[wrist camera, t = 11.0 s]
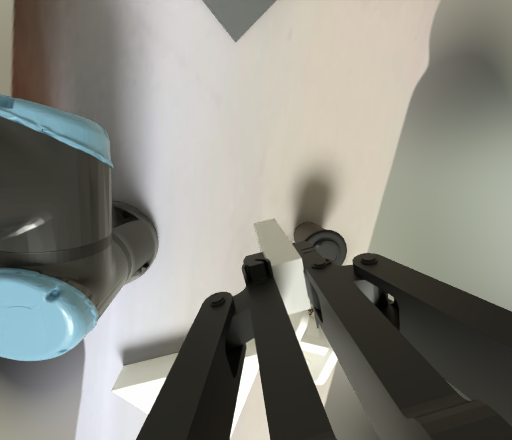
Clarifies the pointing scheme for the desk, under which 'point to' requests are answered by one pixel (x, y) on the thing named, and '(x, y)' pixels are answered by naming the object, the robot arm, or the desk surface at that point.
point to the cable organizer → (313, 345)
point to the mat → (238, 14)
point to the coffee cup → (322, 241)
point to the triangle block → (156, 370)
